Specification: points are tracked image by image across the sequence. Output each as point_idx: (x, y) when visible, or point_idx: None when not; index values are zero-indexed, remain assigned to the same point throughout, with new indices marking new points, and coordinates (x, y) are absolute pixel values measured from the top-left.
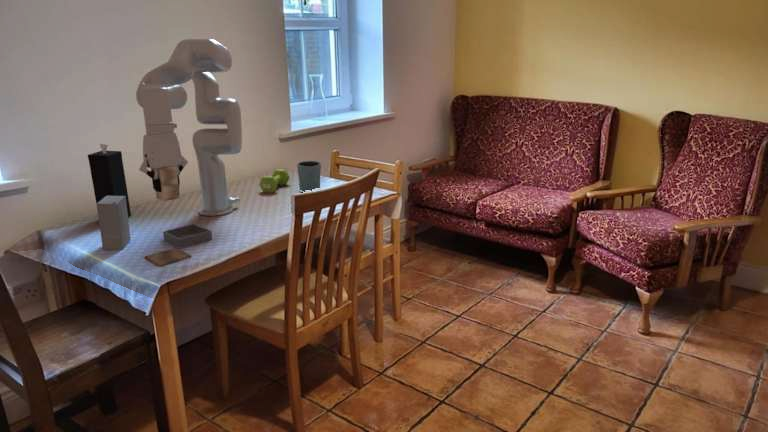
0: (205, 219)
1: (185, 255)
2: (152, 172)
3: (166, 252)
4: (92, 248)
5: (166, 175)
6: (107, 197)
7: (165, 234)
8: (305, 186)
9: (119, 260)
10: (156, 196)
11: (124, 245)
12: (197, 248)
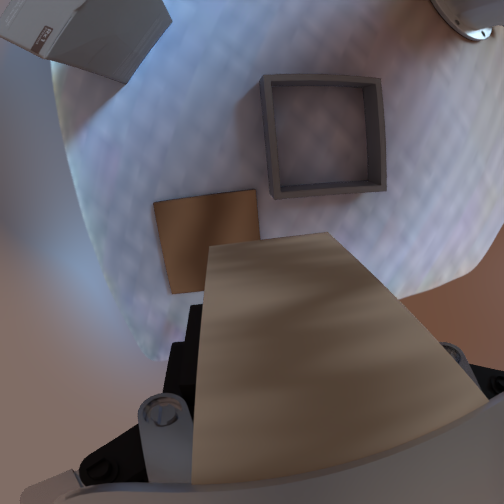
0: (423, 20)
1: None
2: (168, 463)
3: (216, 216)
4: None
5: None
6: None
7: (263, 94)
8: None
9: (95, 174)
10: (208, 254)
11: (133, 70)
12: (307, 228)
